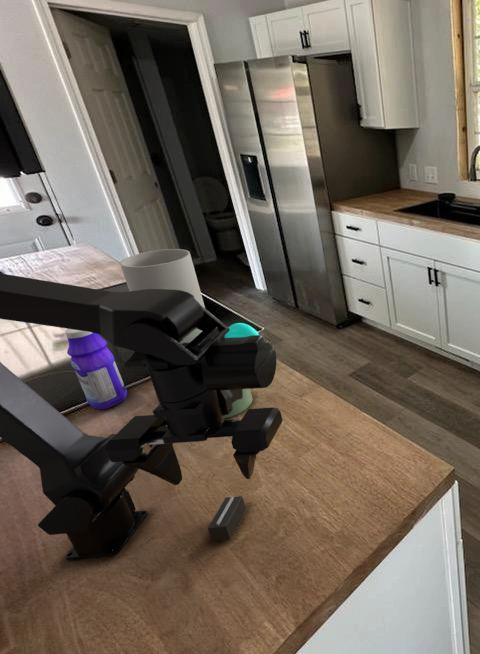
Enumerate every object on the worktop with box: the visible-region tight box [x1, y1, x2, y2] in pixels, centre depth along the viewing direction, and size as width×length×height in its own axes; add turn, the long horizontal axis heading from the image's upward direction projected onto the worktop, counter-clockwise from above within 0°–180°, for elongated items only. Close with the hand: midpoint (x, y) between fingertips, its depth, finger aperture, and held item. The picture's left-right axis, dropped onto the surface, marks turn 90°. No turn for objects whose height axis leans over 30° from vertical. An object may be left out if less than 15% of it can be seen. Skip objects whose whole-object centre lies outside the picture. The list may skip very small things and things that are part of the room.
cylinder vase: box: [119, 248, 206, 343], centre depth 99 cm, size 12×12×25 cm
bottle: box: [64, 328, 128, 410], centre depth 82 cm, size 7×6×17 cm
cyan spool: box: [224, 322, 260, 338], centre depth 96 cm, size 10×10×10 cm
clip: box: [207, 495, 247, 542], centre depth 61 cm, size 5×2×3 cm, turn 8°
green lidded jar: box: [224, 389, 254, 419], centre depth 84 cm, size 9×9×8 cm
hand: (214, 479), depth 58 cm, fingers open, 9 cm apart
